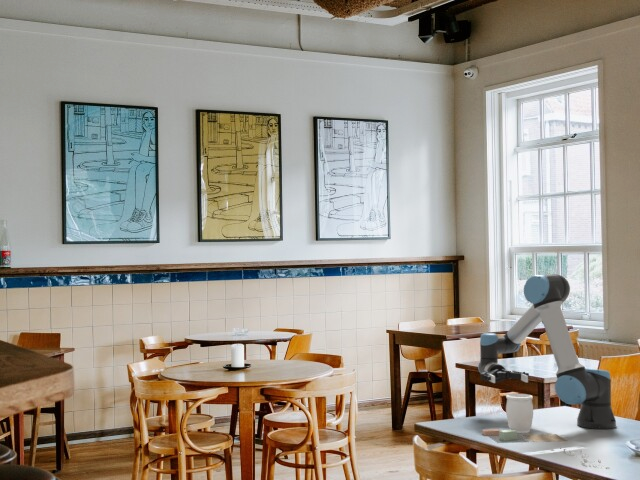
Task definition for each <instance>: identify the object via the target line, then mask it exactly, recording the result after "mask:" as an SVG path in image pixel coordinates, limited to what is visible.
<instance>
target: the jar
mask: <svg viewBox="0 0 640 480" xmlns="http://www.w3.org/2000/svg"><path fill="white" fill-rule="evenodd" d="M505 398H506V405H505V413H506V415H505V416H506V418H507V425H508V427H509V430H511V429H513V430H516V431H517V434H528V433H530V432H531V431H530V429H531V428H532V426H533V425H532V424H533V418H534V404H533V401H532V400H533V399H534V397H533V395H531V394H527V393H510V394H506V395H505Z"/></svg>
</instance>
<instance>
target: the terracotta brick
mask: <svg viewBox="0 0 640 480" xmlns="http://www.w3.org/2000/svg"><path fill="white" fill-rule="evenodd" d="M481 430H482V432H481V433H482V435H483V436H499V431H501V430H500V429H497V428H496V429H495V428H493V429H492V428H491V429H481Z"/></svg>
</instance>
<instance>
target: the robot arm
mask: <svg viewBox="0 0 640 480" xmlns="http://www.w3.org/2000/svg"><path fill="white" fill-rule="evenodd" d="M570 291H571V286H570V283H569V281H568V279H567V278H565V277H564V276H563V275H560V274H554V273H553V274H541V273H540V274H536V275H535V274H534V275H532V276H530V277H528V279H527V280H526V281H525V283H524V285H523V295H524V298H525V299H526V301H528V302H529V303H530V304H532V305H531V306H530V307H529V308H528V309H527V311H526V312H525V313H524V314H523V315H522V316H521V317H520V318H519V319H518V320H517V321H516V322H515V323H514V324H513V325H512V327H510V328H509V330H508V331H507V332H506V333H505V334H504V335H503V336H498V334H497V333H493V332H491V333H490V332H489V333H487V332H486V333H482V334H480V341H479V342H480V343H479V346H480V348H479V349H480V350H479V351H480V360H479V363H478V365H477V369H478V372H479V373H480V380H481V381H485V383H489V382H490V383H493V384H496V383H500V382H503V381H504V380H511V379H514V380H520V381H522V382H524V383H529V380H530V374H529V373H528V372H525V371H516V370H507V369H506V368H505V367H504V366H503V365H501V364H500V363H498V361H499V356H498V355H500V354H512V353H516V352H518V351H519V350H520V348H521V346H522V345H521V343H522V342H523V341H524V340H525V339H526V338H527V337H528V336H529V335H530V334H531V333H532V332H533V331H534V330H535V328H537V327H538V326H539V325H540V324H541V323H542V324H543V327H544V330H545V333H546V335H547V338H548V343H549V345H550V348H551V351H552V354H553V357H554V360H555V364H556V366H557V371H556V373H555V376H556V381H555V384H554V390H555V391H554V392H555V394H556V396H557V398H558V399H559V400H560V401H562V402H563V403H565V404H568V405H580V410H579V412H578V415H577V418H576V425H577V426H579V427H580V428H586V429H595V430H596V429H598V430H601V429H603V430H607V429H614V428H616V427H617V420H616V417H615V415H614V412H613V409H612V391H611V390H612V385H611V383H612V379H611V373H610V371H609V370H606V369H595V368H586V366H585V365H582V364H581V363H580V362H579V359H578V356H577V352H576V348H575V347H574V343H573V340H572V337H571V335H570V332H569V329H568V326H567V323H566V320H565V318H564V314H563V311H562V308H561V306H562V305H563V304H564V303H565V301H566V300H567V299H568V297H569V296H570V293H571V292H570Z"/></svg>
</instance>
